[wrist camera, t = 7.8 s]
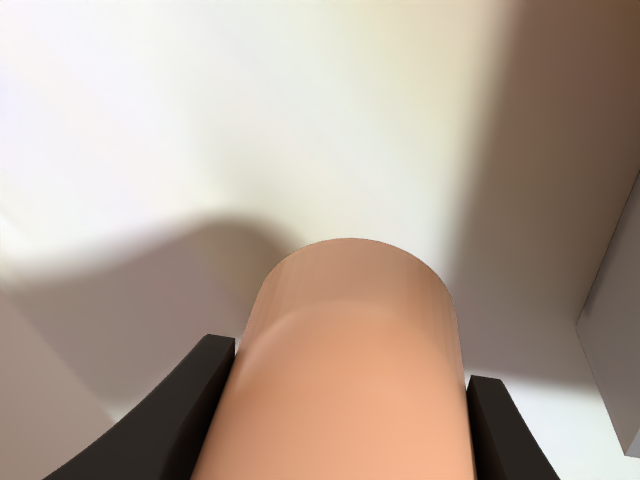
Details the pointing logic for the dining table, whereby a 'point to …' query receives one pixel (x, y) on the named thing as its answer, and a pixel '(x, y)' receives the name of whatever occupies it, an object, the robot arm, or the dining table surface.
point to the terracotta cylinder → (345, 374)
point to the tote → (617, 327)
